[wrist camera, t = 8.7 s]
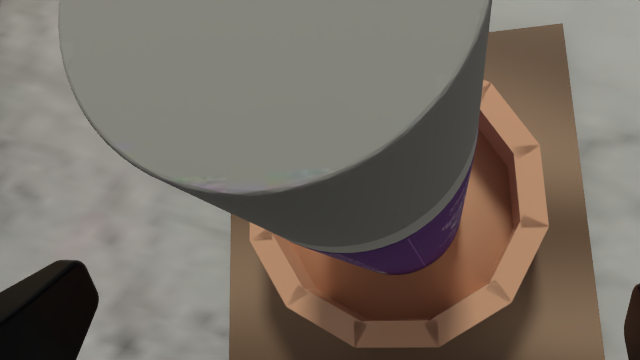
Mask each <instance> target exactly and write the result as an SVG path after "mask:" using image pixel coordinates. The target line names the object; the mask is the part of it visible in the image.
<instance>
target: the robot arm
mask: <svg viewBox="0 0 640 360" xmlns="http://www.w3.org/2000/svg"><path fill="white" fill-rule="evenodd" d="M98 302H99V296H98V292H97V290H96V288H95V285H94V283H93V281H92V279H91V277H90V275H89V272H88V270H87V268H86V266H85V265H84V264H83V263H82V262H81V261H78V260H59V261H56V262H54V263H52V264H50V265H49V266H47V267H45V268H43V269H41V270H40V271H38V272H36V273H34V274H32V275H31V276H29V277H27V278H25V279H24V280H22V281H20V282H18V283H16V284H15V285H13V286H11V287H9V288H7V289H6V290H4V291H2V292H0V360H76V359H77V356H78V354H79V351H80V349H81V346H82V344H83V341H84V339H85V336H86V334H87V332H88V329H89V327H90V324H91V322H92V319H93V317H94V314H95V312H96V309H97V307H98ZM624 337H625V343H626V348H627V353H628V358H629V360H640V284H637V285H636V286H635V287H634V289H633V291H632V295H631V299H630V303H629V307H628V311H627V315H626V319H625V324H624Z"/></svg>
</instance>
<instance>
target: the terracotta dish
mask: <svg viewBox="0 0 640 360" xmlns="http://www.w3.org/2000/svg"><path fill="white" fill-rule="evenodd" d="M548 228H549V223H548V214H547V205H546V196H545V187H544V178H543V169H542V160H541V151H540V144H539V143H538V142H537V141H536V139H535V138H534V137H533V136H532V134H531V133H530V132H529V130H528V129H527V128H526V127H525V125H524V124H523V123H522V122H521V120H520V119H519V118H518V116H517V115H516V114H515V113H514V111H513V110H512V109H511V108H510V106H509V105H508V104H507V102H506V101H505V100H504V99H503V97H502V96H501V95H500V94H499V92H498V91H497V90H496V88H495V87H494V86H493V85H492V83H491V82H488V81H486V80H483V88H482V97H481V106H480V115H479V125H478V138H477V145H476V150H475V155H474V159H473V164H472V169H471V173H470V178H469V183H468V187H467V192H466V197H465V201H464V206H463V211H462V215H461V220H460V224H459V228H458V231H457V233H456V236H455V238H454V240H453V242H452V243H451V245H450V246H449V248H448V249H447V250H446V252H445V253H444V254H443V255H442V256H441V257H440V258H439V259H438V260H436V261H435V262H434V263H432V264H431V265H429V266H428V267H426V268H424V269H422V270H419V271H417V272H413V273H409V274H403V275H388V274H381V273H377V272H373V271H370V270H367V269H365V268H362V267H359V266H356V265H353V264H350V263H347V262H345V261H342V260H339V259H336V258H333V257H330V256H327V255H325V254H322V253H319V252H316V251H313V250H310V249H307V248H305V247H302V246H299V245H297V244H295V243H292V242H290V241H288V240H286V239H284V238H282V237H280V236H278V235H276V234H274V233H272V232H270V231H268V230H266V229H263V228H261V227H259V226H257V225H255V224H253V223H251V222H250V242H251V244H252V246H253V248H254V249H255V251H256V253H257V255H258V257H259V258H260V260H261V262H262V264H263V266H264V267H265V269H266V271H267V273H268V275H269V276H270V278H271V280H272V282H273V284H274V285H275V287H276V289H277V291H278V293H279V294H280V296H281V298H282V300H283V302H284V303H285V305H286V307H288V308H289V309H291V310H293V311H294V312H296V313H298V314H299V315H301V316H303V317H304V318H306V319H308V320H309V321H311V322H313V323H314V324H316V325H318V326H319V327H321V328H323V329H325V330H326V331H328V332H330V333H331V334H333V335H335V336H336V337H338V338H340V339H341V340H343V341H345V342H346V343H348V344H350V345H351V346H353V347H355V348H404V347H438V348H439V347H440V346H442V345H443V344H445V343H447V342H448V341H450V340H452V339H453V338H455V337H456V336H458V335H460V334H461V333H463V332H465V331H466V330H468V329H469V328H471V327H473V326H474V325H476V324H478V323H479V322H481V321H482V320H484V319H486V318H487V317H489V316H491V315H492V314H494V313H495V312H497V311H499V310H500V309H502V308H504V307H505V306H507V305H508V304H510V303H512V301H513V299H514V297H515V295H516V293H517V291H518V288H519V286H520V284H521V282H522V280H523V278H524V276H525V274H526V272H527V270H528V268H529V266H530V264H531V262H532V260H533V258H534V256H535V254H536V252H537V250H538V248H539V246H540V244H541V242H542V240H543V238H544V236H545V234H546V232H547V230H548Z"/></svg>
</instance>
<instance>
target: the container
mask: <svg viewBox="0 0 640 360" xmlns="http://www.w3.org/2000/svg"><path fill="white" fill-rule="evenodd" d="M491 5H492V0H60V1H59V25H58V28H59V39H60V49H61V54H62V59H63V64H64V68H65V71H66V75H67V78H68V81H69V84H70V86H71V89H72V91H73V93H74V96H75V98H76V100H77V102H78V104H79V106H80V108H81V110H82V111H83V113H84V115H85V116H86V118H87V119H88V121H89V122H90V124H91V125H92V127H93V128H94V129H95V130H96V131H97V133H98V134H99V135H100V136H101V137H102V138H103V140H104V141H105V142H106V143H107V144H108V145H109V146H110V147H111V148H112V149H114V150H115V151H116V152H117V153H118V154H119V155H120V156H121V157H123V158H124V159H125V160H127V161H128V162H130V163H131V164H132V165H134V166H135V167H137V168H138V169H140V170H142V171H143V172H145V173H147V174H148V175H150V176H152V177H155V178H157V179H159V180H161V181H163V182H165V183H167V184H170V185H172V186H174V187H176V188H178V189H180V190H182V191H184V192H187V193H189V194H191V195H193V196H195V197H197V198H199V199H202V200H204V201H206V202H208V203H210V204H212V205H214V206H217V207H219V208H221V209H223V210H225V211H227V212H229V213H231V214H234V215H236V216H238V217H240V218H242V219H244V220H246V221H249V222H251V223H253V224H255V225H257V226H259V227H261V228H263V229H266V230H268V231H270V232H272V233H274V234H276V235H278V236H280V237H282V238H284V239H286V240H288V241H290V242H292V243H295V244H297V245H299V246H302V247H305V248H307V249H310V250H313V251H316V252H319V253H322V254H325V255H327V256H330V257H333V258H336V259H339V260H342V261H345V262H347V263H350V264H353V265H356V266H359V267H362V268H365V269H367V270H370V271H373V272H377V273H381V274H388V275H403V274H409V273H413V272H417V271H419V270H422V269H424V268H426V267H428V266H429V265H431V264H432V263H434V262H435V261H436V260H438V259H439V258H440V257H441V256H442V255H443V254H444V253H445V252H446V250H447V249H448V248H449V246H450V245H451V243H452V242H453V240H454V238H455V236H456V233H457V231H458V228H459V224H460V220H461V215H462V211H463V206H464V201H465V197H466V192H467V187H468V183H469V178H470V173H471V169H472V164H473V159H474V155H475V150H476V145H477V138H478V125H479V115H480V106H481V97H482V88H483V79H484V69H485V60H486V51H487V42H488V33H489V23H490V14H491Z"/></svg>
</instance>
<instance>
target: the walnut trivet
mask: <svg viewBox="0 0 640 360" xmlns="http://www.w3.org/2000/svg"><path fill="white" fill-rule="evenodd" d="M483 80H486V81H488V82H491V83H492V85H493V86H494V87H495V88H496V90H497V91H498V92H499V94H500V95H501V96H502V97H503V99H504V100H505V101H506V102H507V104H508V105H509V106H510V108H511V109H512V110H513V111H514V113H515V114H516V115H517V116H518V118H519V119H520V120H521V122H522V123H523V124H524V125H525V127H526V128H527V129H528V130H529V132H530V133H531V134H532V136H533V137H534V138H535V139H536V141H537V142H538V143H539V144H540V151H541V160H542V169H543V178H544V187H545V196H546V205H547V214H548V223H549V228H548V230H547V232H546V234H545V236H544V238H543V240H542V242H541V244H540V246H539V248H538V250H537V252H536V254H535V256H534V258H533V260H532V262H531V264H530V266H529V268H528V270H527V272H526V274H525V276H524V278H523V280H522V282H521V284H520V286H519V288H518V291H517V293H516V295H515V297H514V299H513V301H512V303H510V304H508V305H507V306H505V307H504V308H502V309H500V310H499V311H497V312H495V313H494V314H492V315H491V316H489V317H487V318H486V319H484V320H482V321H481V322H479V323H478V324H476V325H474V326H473V327H471V328H469V329H468V330H466V331H465V332H463V333H461V334H460V335H458V336H456V337H455V338H453V339H452V340H450V341H448V342H447V343H445V344H443V345H442V346H440V347H439V348H438V347H404V348H355V347H353V346H351V345H350V344H348V343H346V342H345V341H343V340H341V339H340V338H338V337H336V336H335V335H333V334H331V333H330V332H328V331H326V330H325V329H323V328H321V327H319V326H318V325H316V324H314V323H313V322H311V321H309V320H308V319H306V318H304V317H303V316H301V315H299V314H298V313H296V312H294V311H293V310H291V309H289V308H288V307H286V305H285V303H284V302H283V300H282V298H281V296H280V294H279V293H278V291H277V289H276V287H275V285H274V284H273V282H272V280H271V278H270V276H269V275H268V273H267V271H266V269H265V267H264V266H263V264H262V262H261V260H260V258H259V257H258V255H257V253H256V251H255V249H254V248H253V246H252V244H251V242H250V222H249V221H246V220H244V219H242V218H240V217H238V216H236V215H234V214H231V259H230V338H229V360H605V356H604V348H603V340H602V333H601V325H600V317H599V309H598V301H597V293H596V285H595V277H594V269H593V261H592V253H591V245H590V237H589V230H588V222H587V214H586V206H585V198H584V190H583V182H582V174H581V166H580V158H579V150H578V142H577V134H576V127H575V119H574V111H573V103H572V95H571V87H570V79H569V71H568V63H567V55H566V47H565V39H564V31H563V23H562V24H554V25H546V26H538V27H529V28H521V29H513V30H504V31H496V32H489V33H488V42H487V51H486V60H485V69H484V79H483Z"/></svg>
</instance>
